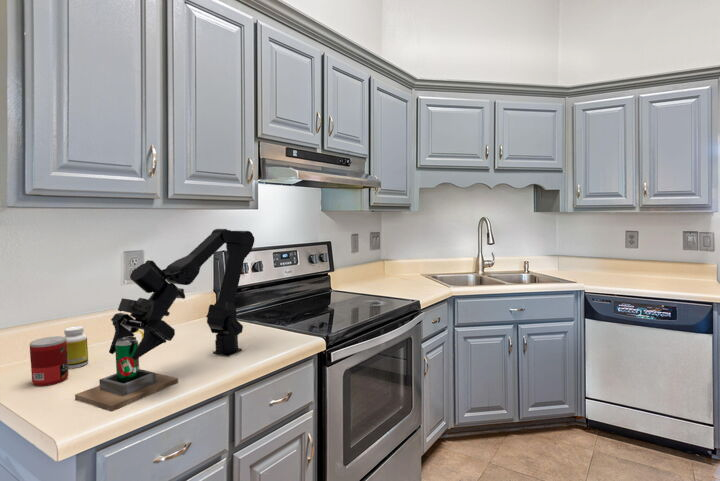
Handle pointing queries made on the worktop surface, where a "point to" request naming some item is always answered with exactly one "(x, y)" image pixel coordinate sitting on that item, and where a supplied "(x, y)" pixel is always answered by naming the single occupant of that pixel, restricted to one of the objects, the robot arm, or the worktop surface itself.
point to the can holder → (125, 390)
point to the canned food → (49, 360)
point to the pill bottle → (76, 347)
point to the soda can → (126, 360)
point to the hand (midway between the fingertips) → (121, 356)
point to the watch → (141, 333)
